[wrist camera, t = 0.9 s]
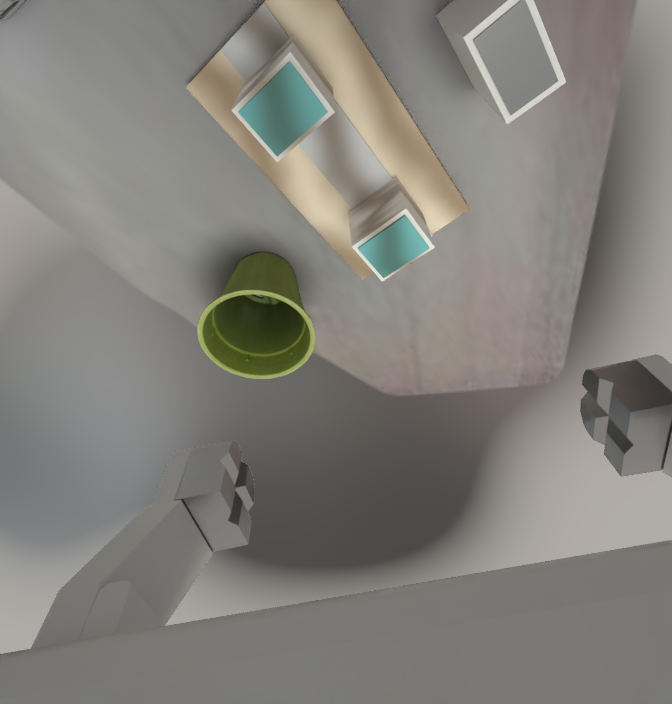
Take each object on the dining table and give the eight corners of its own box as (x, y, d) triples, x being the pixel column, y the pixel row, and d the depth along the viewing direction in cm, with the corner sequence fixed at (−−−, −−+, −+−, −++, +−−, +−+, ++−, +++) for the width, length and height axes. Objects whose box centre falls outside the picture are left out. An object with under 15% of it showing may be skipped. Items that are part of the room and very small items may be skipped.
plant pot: (317, 315, 59) (316, 378, 51) (224, 316, 59) (208, 379, 51) (314, 231, 51) (313, 290, 43) (207, 231, 51) (185, 291, 43)
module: (485, -29, 36) (528, -16, 29) (521, 52, 40) (567, 82, 33) (435, 15, 38) (463, 38, 31) (474, 89, 42) (508, 125, 35)
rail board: (307, -46, 35) (305, -39, 29) (466, 204, 50) (489, 246, 43) (188, 83, 41) (164, 114, 35) (361, 274, 55) (367, 321, 49)
